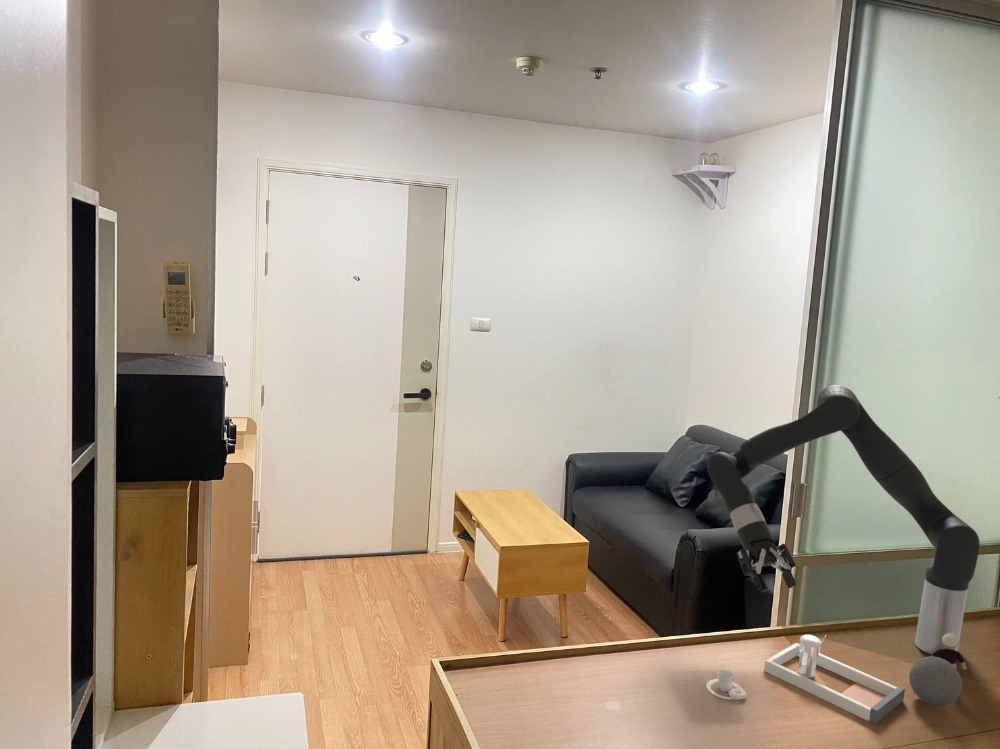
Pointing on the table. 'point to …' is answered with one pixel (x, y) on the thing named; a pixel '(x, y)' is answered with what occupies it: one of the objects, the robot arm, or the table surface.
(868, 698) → the tray
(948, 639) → the grandmother figurine
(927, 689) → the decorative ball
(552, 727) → the table surface
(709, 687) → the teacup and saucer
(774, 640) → the table surface
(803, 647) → the milkshake
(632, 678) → the table surface
